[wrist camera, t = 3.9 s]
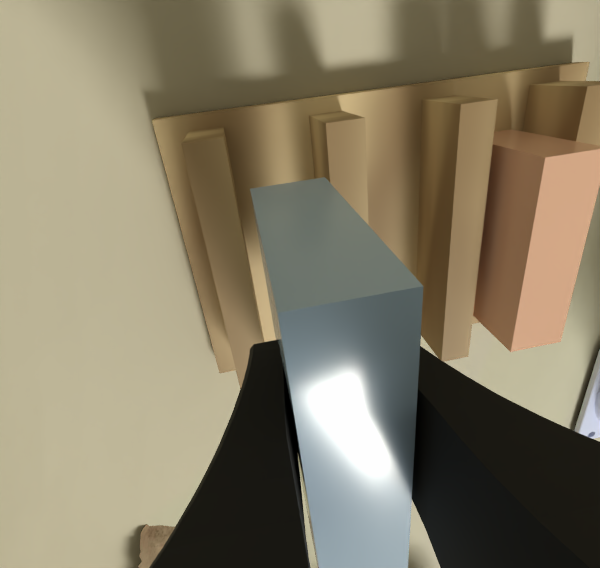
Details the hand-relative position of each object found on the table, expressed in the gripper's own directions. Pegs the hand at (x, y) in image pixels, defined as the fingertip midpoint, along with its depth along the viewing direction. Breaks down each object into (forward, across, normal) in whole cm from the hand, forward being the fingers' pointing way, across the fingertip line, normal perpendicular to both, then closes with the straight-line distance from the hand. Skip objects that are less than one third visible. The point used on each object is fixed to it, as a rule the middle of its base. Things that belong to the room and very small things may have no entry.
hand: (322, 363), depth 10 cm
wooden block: (+7, -8, 0) cm, 11 cm away
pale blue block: (+3, 0, 0) cm, 3 cm away
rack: (+8, -4, 0) cm, 9 cm away
